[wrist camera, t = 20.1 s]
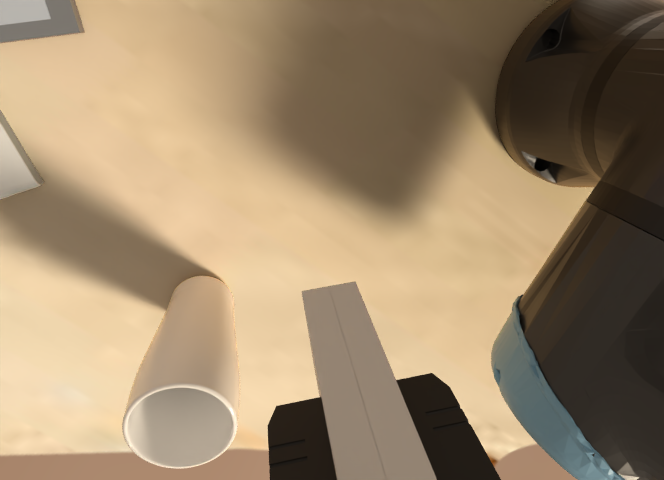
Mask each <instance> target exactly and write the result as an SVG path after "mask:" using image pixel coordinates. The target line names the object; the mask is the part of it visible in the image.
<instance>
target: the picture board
mask: <svg viewBox="0 0 664 480" xmlns="http://www.w3.org/2000/svg"><path fill="white" fill-rule="evenodd" d="M77 33H85V32H84V28H83V25H82V22H81V19H80V15H79V12H78V9H77V6H76V2H75V0H0V43H6V42H14V41H22V40H30V39H38V38H45V37H53V36H61V35H69V34H77Z"/></svg>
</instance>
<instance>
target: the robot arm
mask: <svg viewBox="0 0 664 480" xmlns="http://www.w3.org/2000/svg"><path fill="white" fill-rule="evenodd" d="M496 121H497V127H498V131H499V134H500V137H501V140H502V142H503V144H504V146H505V148H506V150H507V152H508V153H509V155H510V156H511V157H512V158H513V160H514V161H515V162H516V163H517V164H518V165H520V166H521V167H522V168H523V169H525V170H526V171H528V172H529V173H531V174H533V175H535V176H537V177H539V178H541V179H543V180H545V181H548V182H550V183H553V184H557V185H561V186H566V187H595V188H594V190H593V191H592V193H591V194H590V196H589V197H588V199H587V200H586V201H585V202H584V204H583V205H582V207H581V208H580V210H579V211H578V213H577V214H576V216H575V218H574V219H573V221H572V222H571V224H570V225H569V227H568V228H567V230H566V231H565V233H564V234H563V236H562V238H561V239H560V241H559V242H558V244H557V245H556V247H555V248H554V250H553V251H552V253H551V254H550V256H549V257H548V259H547V261H546V262H545V264H544V265H543V267H542V268H541V270H540V271H539V273H538V274H537V276H536V277H535V279H534V280H533V281H532V283H531V284H530V286H529V287H528V289H527V290H526V292H525V293H524V295H521V296H519V297H517V299H516V300H515V302H514V303H513V307H512V312H511V314H510V316H509V318H508V319H507V321H506V323H505V325H504V326H503V328H502V330H501V331H500V333H499V335H498V337H497V338H496V340H495V342H494V345H493V348H492V353H491V365H492V370H493V373H494V378H495V380H496V382H497V384H498V386H499V388H500V391H501V394H502V396H503V398H504V400H505V402H506V403H507V405H508V406H509V408H510V410H511V411H512V413H513V414H514V415H515V417H516V418H517V420H518V421H519V422H520V423H521V425H522V426H523V427H524V429H525V430H526V431H527V432H528V433H529V435H530V436H531V437H532V438H533V439H534V440H535V441H536V442H537V443H538V444H539V446H540V447H541V448H542V449H544V450H545V452H546V453H548V454H549V456H550V457H551V458H553V459H554V460H555V461H556V462H557V463H558V464H559V465H560V466H561V467H562V468H564V469H565V470H566V471H567V472H569V473H570V474H571V475H572V476H573V477H575V478H576V479H578V480H664V0H559V1H558V2H556V3H554V4H553V5H551V6H550V7H548V8H547V9H546V10H544V11H543V12H542V13H541V14H540V15H538V16H537V17H536V18H535V19H534V20H533V21H532V22H531V23H530V24H529V25H528V27H527V28H526V29H525V30H524V31H523V33H522V34H521V35H520V37H519V38H518V39H517V41H516V43H515V44H514V46H513V47H512V49H511V51H510V53H509V55H508V57H507V59H506V61H505V64H504V66H503V69H502V72H501V75H500V78H499V82H498V87H497V93H496ZM302 297H303V303H304V309H305V315H306V320H307V326H308V332H309V338H310V344H311V350H312V356H313V362H314V368H315V374H316V379H317V384H318V390H319V395H320V397H319V398H314V399H309V400H304V401H299V402H294V403H289V404H285V405H280V406H276V408H275V411H274V413H273V415H272V417H271V420H270V422H269V424H268V444H269V465H270V480H501V479H500V477H499V475H498V474H497V472H496V470H495V468H494V466H493V464H492V463H491V461H490V459H489V457H488V455H487V454H486V452H485V450H484V448H483V446H482V445H481V443H480V441H479V439H478V437H477V436H476V434H475V432H474V430H473V428H472V427H471V425H470V424H469V423H468V419H467V418H466V416H465V414H464V412H463V410H462V409H460V405H459V403H458V401H457V399H456V398H455V396H454V394H453V392H452V390H451V389H450V387H449V386H448V385H447V384H445V383H444V382H443V381H441V380H440V379H439V378H438V377H436V376H435V375H434V374H433V373H430V374H425V375H420V376H415V377H410V378H405V379H400V380H396V379H395V377H394V374H393V372H392V369H391V367H390V364H389V362H388V360H387V357H386V355H385V352H384V350H383V347H382V345H381V343H380V340H379V338H378V335H377V333H376V331H375V328H374V326H373V323H372V321H371V318H370V316H369V314H368V311H367V309H366V306H365V304H364V301H363V299H362V297H361V294H360V292H359V289H358V287H357V284H356V282H350V283H344V284H339V285H333V286H328V287H322V288H317V289H311V290H306V291H302Z"/></svg>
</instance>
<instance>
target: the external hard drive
mask: <svg viewBox="0 0 664 480" xmlns="http://www.w3.org/2000/svg"><path fill="white" fill-rule="evenodd" d="M43 183H44V182H43V180H42V178H41V177H40V175H39V173H38V172H37V170H36V168H35V167H34V165H33V163H32V162H31V160H30V158H29V157H28V155H27V153H26V152H25V150H24V148H23V147H22V145H21V143H20V142H19V140H18V138H17V137H16V135H15V133H14V132H13V130H12V128H11V127H10V125H9V123H8V122H7V120H6V118H5V117H4V115H3V113H2V112H1V110H0V200H1V199H3V198H6V197H9V196H12V195H15V194H18V193H21V192H24V191H27V190H30V189H33V188H36V187H39V186H41V185H42V184H43Z"/></svg>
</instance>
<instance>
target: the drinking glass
mask: <svg viewBox="0 0 664 480" xmlns="http://www.w3.org/2000/svg"><path fill="white" fill-rule="evenodd" d="M239 404H240V373H239V362H238V352H237V342H236V332H235V321H234V298H233V295H232V292H231V291H230V289H229V288H228V286H227V285H226V284H224V283H223V282H222V281H220V280H218V279H216V278H214V277H210V276H195V277H191V278H189V279H186V280H185V281H183V282H182V283H180V284H179V285H178V286H177V287H176V289H175V290H174V292H173V294H172V296H171V299H170V303H169V305H168V308H167V310H166V312H165V314H164V316H163V319H162V321H161V323H160V325H159V327H158V329H157V331H156V333H155V335H154V337H153V339H152V341H151V343H150V346H149V348H148V350H147V352H146V354H145V356H144V358H143V360H142V362H141V364H140V367H139V369H138V372H137V374H136V377H135V380H134V382H133V386H132V389H131V392H130V395H129V399H128V402H127V406H126V410H125V414H124V418H123V424H122V429H123V435H124V438H125V440H126V442H127V444H128V446H129V447H130V448H131V450H132V451H133V452H134V453H135V454H136V455H138V456H139V457H140V458H142V459H144V460H145V461H147V462H149V463H152V464H155V465H158V466H162V467H167V468H190V467H195V466H199V465H202V464H205V463H207V462H209V461H211V460H213V459H215V458H217V457H218V456H220V455H221V454H222V453H223V452H224V451H225V450H226V449H227V448H228V447H229V446H230V444H231V443H232V441H233V440H234V437H235V435H236V432H237V426H238V416H239Z"/></svg>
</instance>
